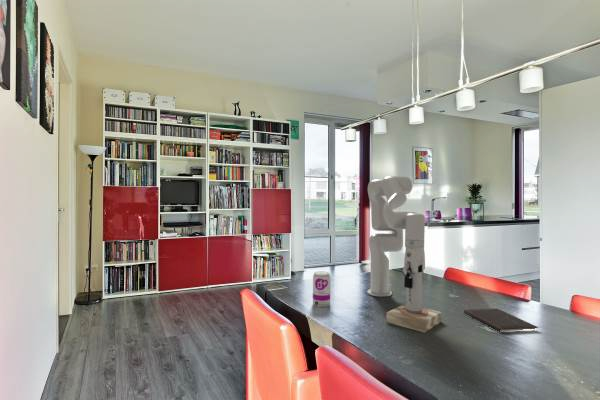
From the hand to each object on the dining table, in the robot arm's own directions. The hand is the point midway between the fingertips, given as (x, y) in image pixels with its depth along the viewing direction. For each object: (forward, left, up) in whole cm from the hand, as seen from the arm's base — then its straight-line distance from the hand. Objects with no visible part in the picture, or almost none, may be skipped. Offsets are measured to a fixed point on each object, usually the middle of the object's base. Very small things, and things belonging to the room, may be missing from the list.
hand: (413, 285), depth 146 cm
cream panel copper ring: (0, 0, -15) cm, 15 cm away
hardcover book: (-24, +26, -16) cm, 38 cm away
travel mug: (0, 0, -11) cm, 11 cm away
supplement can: (+8, -42, -15) cm, 45 cm away
